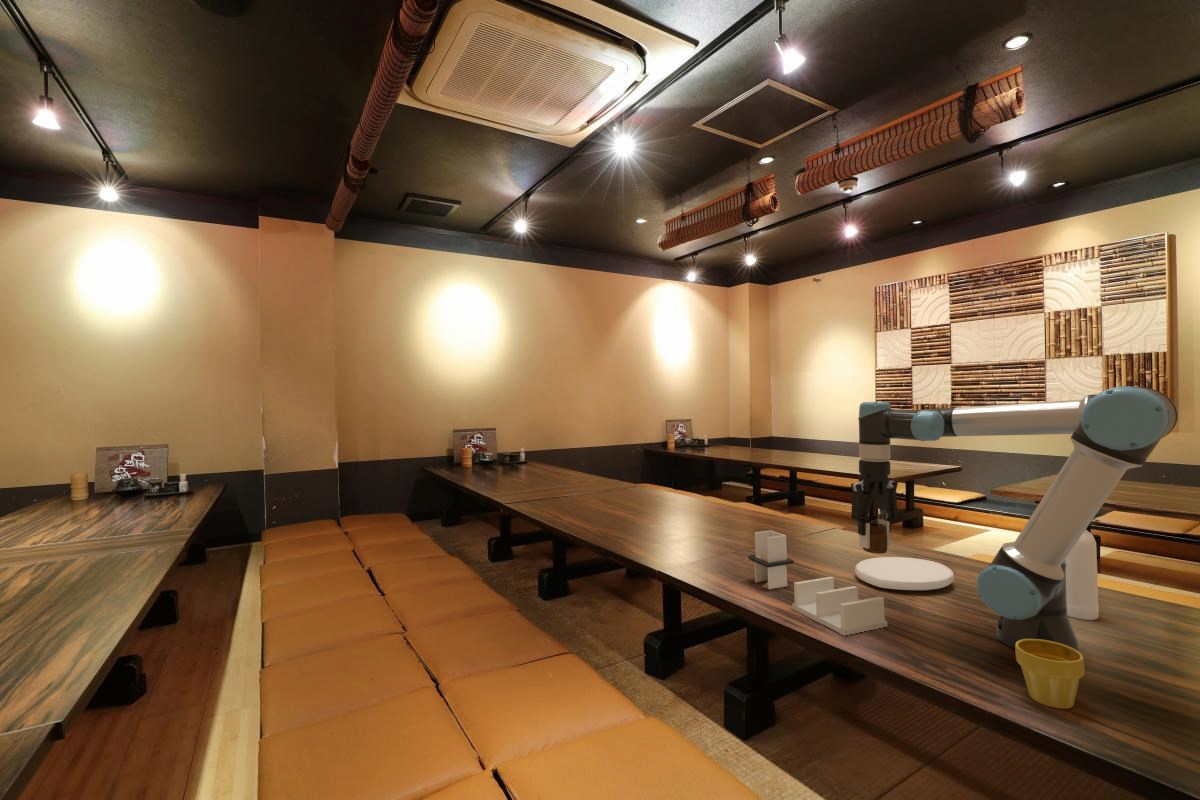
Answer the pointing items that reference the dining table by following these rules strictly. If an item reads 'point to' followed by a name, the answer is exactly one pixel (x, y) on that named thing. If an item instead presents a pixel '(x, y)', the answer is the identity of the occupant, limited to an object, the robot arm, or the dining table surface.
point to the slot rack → (838, 606)
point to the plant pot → (1050, 671)
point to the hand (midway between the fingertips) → (874, 545)
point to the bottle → (1082, 579)
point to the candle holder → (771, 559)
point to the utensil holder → (877, 538)
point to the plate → (904, 573)
